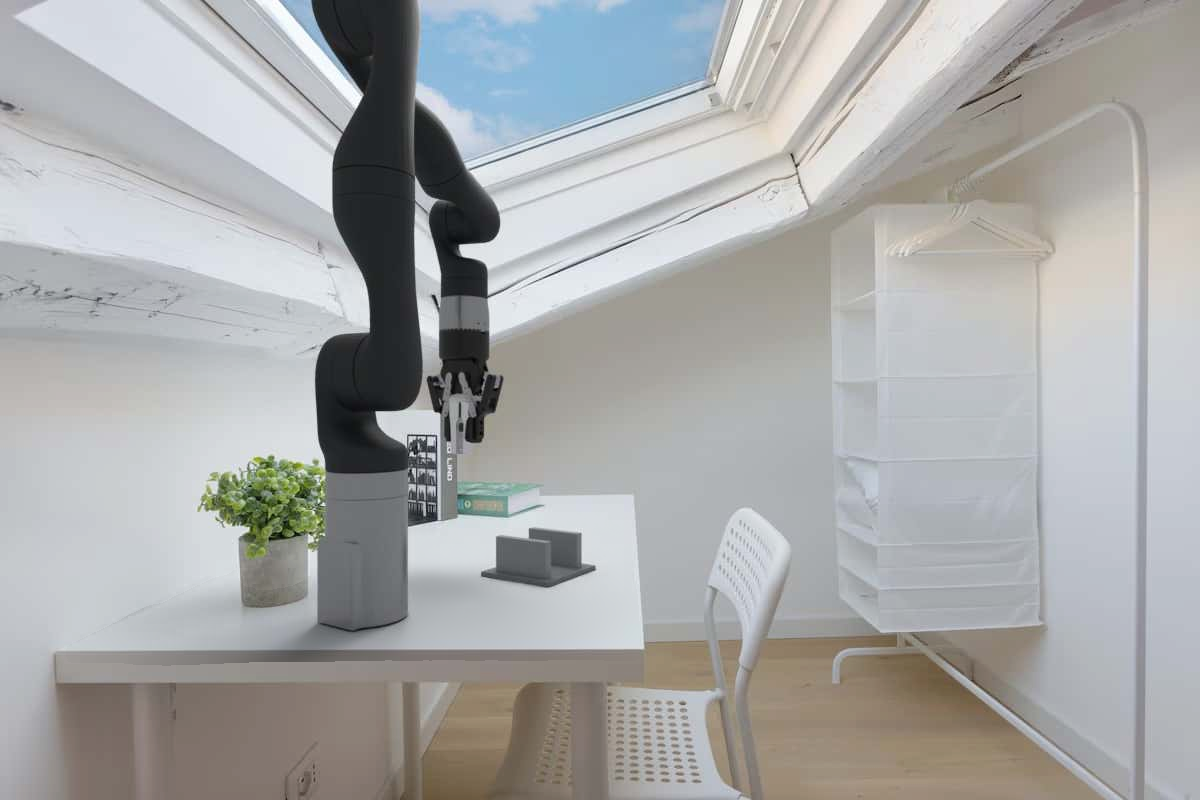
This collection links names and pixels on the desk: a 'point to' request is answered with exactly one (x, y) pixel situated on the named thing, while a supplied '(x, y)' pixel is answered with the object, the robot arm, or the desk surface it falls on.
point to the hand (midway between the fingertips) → (464, 441)
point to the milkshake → (459, 424)
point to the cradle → (539, 557)
